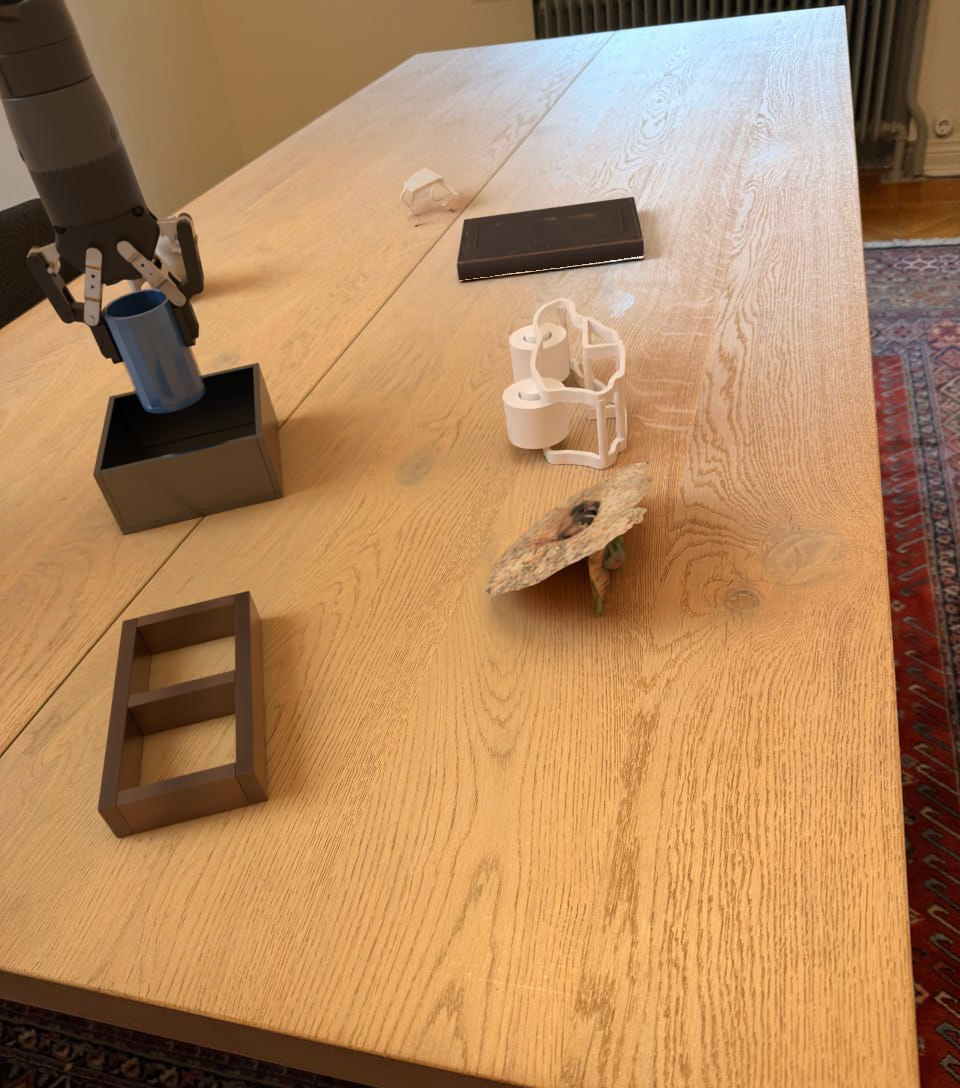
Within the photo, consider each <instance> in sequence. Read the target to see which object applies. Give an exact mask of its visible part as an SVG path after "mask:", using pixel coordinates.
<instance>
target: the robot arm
mask: <svg viewBox="0 0 960 1088" xmlns="http://www.w3.org/2000/svg"><path fill="white" fill-rule="evenodd" d="M78 31H79V30H78V27H77V26H76V23H75V20H74V18H73V16H72V13H71V11H70V9H69V7H68V5H67V2H66V0H0V102H1V104H2V108H3V111H4V113H5V117H6V120H7V123H8V126H9V127H8V128H9V130H10V132H11V134H12V137H13V140H14V142H15V144H16V149H17V151H18V154H19V156H20V158H21V160H22V162H23V163H24V164H25V167H26V168H27V169H26V170H27V171H28V173H29V176H30V178H31V180H32V182H33V185H34V187H35V190H36V192H37V193H38V196H39V198H40V200H41V203H42V205H43V207H44V209H45V212H46V214H47V216H48V219H49V221H50V223H51V225H52V228H53V229H54V230H53V231H54V235H55V241H54V242H53V243H50V244H46V245H44V246H40V245H33V246H32V247H31V248H30V250H29V252H28V253H27V256H26V259H25V264H26V267H27V268H28V270H29V271H30V273H31V274H32V276H33V278H34V279H35V281H36V282H37V284H38V285H39V287H40V288H41V290H42V292H43V293H44V295H45V296H46V298H47V300H48V301H49V303H50V304H51V307H52V308H53V309H54V311H55V312H56V314H57V316H58V317H59V319H60V320H61V322H63V323H64V324H68V325H69V324H71V325H72V324H73V323H82V324H85V325H87V327H88V328H89V330H90V332H91V334H92V336H93V338H94V340H95V343H96V345H97V347H98V349H99V351H100V353H101V355H102V356H103V357H104V358H105V359H106V360H108V359H111V361H112V364H113V365H117V364H120V363H123V362H122V360H121V358H120V356H119V353H118V351H117V349H116V346H115V344H114V342H113V339H112V337H111V335H110V332H109V330H108V328H107V326H106V323H105V321H104V319H103V316H102V310H103V294H104V293H103V292H104V285H105V287H109V286H114V285H116V284H118V283H120V282H122V281H127V280H137V279H141V278H143V276H144V277H145V278H146V279H147V280H148V281H149V282H150V283H151V284H152V285H153V286H154V287H155V288H157V289H159V290H160V291H161V292H162V293H163V294H164V295H165V296H166V297H167V298H168V299H169V300H170V301H171V302H172V303H173V304H174V305H173V311H174V314H175V317H176V319H177V322H178V324H179V327H180V330H181V332H182V335H183V337H184V340H185V343H186V345H187V347H190V346H191V347H194V346H196V345H197V343H196V342H197V339H198V338H199V337H200V324H199V321H198V318H197V315H196V313H195V309H194V307H193V304H192V302H191V299H192V298H193V297H194V296H197V295H201V294H202V293H203V292H204V290H205V289H204V288H205V274H204V269H203V265H202V259H201V255H200V250H199V245H198V244H197V240H196V235H195V234H196V231H195V226H194V220H193V217H192V216H191V215H190V214H189V213H188V212H181V213H180V214H178V216H177V218H170V219H167V218H159V219H158V217H157V216H156V215H155V214H154V213H153V212H152V211H151V210H150V209H149V207H148V205H147V203H146V201H145V198H144V195H143V193H142V189H141V187H140V185H139V182H138V179H137V177H136V174H135V171H134V169H133V165H132V163H131V160H130V157H129V155H128V152H127V150H126V147H125V144H124V142H123V139H122V135H121V134H120V131H119V128H118V125H117V123H116V120H115V117H114V114H113V112H112V109H111V107H110V105H109V102H108V100H107V99H106V96H105V94H104V92H103V90H102V88H101V86H100V84H99V83H98V81H97V80H98V79H97V78H96V75H95V73H93V72H94V71H93V68H92V65H91V62H90V60H89V57H88V54H87V52H86V50H85V49H86V48H85V47H84V44H83V41H82V38H81V36H80V33H79V32H78ZM160 234H163V235H166V236H167V237H168V238H169V240H170V242H171V244H172V245H173V246H175V247H180V248H181V253H182V257H183V262H184V267H185V271H186V276H187V277H186V278H185V279H183V280H182V281H181V280H180V279H179V278H178V277H177V276H176V275H175V274H174V273H173V272H172V271H171V270H170V268H169V266H168V265H167V264H166V263H165V262H164V260H163V259H162V258H161V257H160V256H159V255H158V254H157V253H156V252H155V250H156V247H157V243H158V240H159V236H160ZM60 257H61V258H63V259H64V260H65V261H66V262H68V263H69V264H70V265H72V266H73V267H75V268H76V269H78V270H79V271H80V272H82V273H83V274H84V291H83V293H84V294H83V299H84V301H83V302H82V301H77V300H76V299H75V297H74V296H73V294H72V292H71V291H70V289H69V287H68V286H67V284H66V282H65V281H64V279H63V277H62V276H61V274H60V273H59V272H60V269H61V266H62V265H61V262H60ZM152 260H154V261H152ZM150 272H151V273H150Z"/></svg>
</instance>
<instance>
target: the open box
mask: <svg viewBox="0 0 960 1088" xmlns="http://www.w3.org/2000/svg"><path fill="white" fill-rule="evenodd" d="M201 375H202V374H201ZM202 378H203V380H204V385H205V387H206V390H205V393H204V395H203V396H202V397H201V398H200V399H199V400H198V401H197V402H195V403H194V404H192V405H190V406H188V407H186V408H183V409H181V410H177V411H174V412H169V413H150V412H147V411H146V410H144V409H143V407H142V405H141V402H140V401H139V399H138V397H137V395H136V392H135V390H132V391H128V392H124V393H119V394H115V395H110V396H108V402H107V406H106V410H105V415H104V420H103V426H102V429H101V435H100V440H99V444H98V450H97V455H96V459H95V464H94V468H93V474H92V476H93V478H94V480H95V482H96V485H97V486H98V488H99V490H100V492H101V494H102V496H103V498H104V500H105V502H106V504H107V506H108V508H109V510H110V512H111V514H112V516H113V518H114V520H115V522H116V524H117V526H118V528H119V530H120V532H121V533H122V535H123V536H124V535H128V534H132V533H136V532H137V533H138V532H141V531H146V530H150V529H154V528H158V527H162V526H166V525H167V526H168V525H170V524H175V523H179V522H183V521H188V520H191V519H196V518H201V517H204V516H209V515H213V514H218V513H221V512H226V511H230V510H234V509H235V510H236V509H239V508H243V507H247V506H251V505H256V504H259V502H260V503H263V502H264V503H265V502H269V501H273V500H277V499H280V498H284V485H283V473H282V459H281V448H280V436H279V435H280V433H279V424H278V423H279V422H278V418H277V414H276V411H275V408H274V405H273V402H272V399H271V396H270V392H269V390H268V387H267V383H266V380H265V377H264V375H263V372H262V369H261V365H260V362H255V363H250V364H246V365H241V366H237V367H233V368H228V369H224V370H220V371H215V372H210V373H206V374H203V375H202Z"/></svg>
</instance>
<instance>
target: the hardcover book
mask: <svg viewBox="0 0 960 1088" xmlns="http://www.w3.org/2000/svg"><path fill="white" fill-rule="evenodd" d="M637 209H638V208H637V205H636V200H635V196H629V197H621V198H614V199H605V200H598V201H591V202H584V203H576V204H569V205H561V206H554V207H553V206H552V207H545V208H539V209H531V210H524V211H517V212H510V213H509V212H508V213H502V214H494V215H487V216H479V217H472V218H465V219H463V224H462V229H461V237H460V242H459V248H458V255H457V261H456V270H457V277H458V281H459V280H465V279H473V278H480V277H490V276H495V275H502V274H507V273H508V274H509V273H516V272H525V271H536V270H543V269H550V268H560V267H567V266H573V265H574V266H575V265H582V264H589V263H596V262H597V263H598V262H604V261H610V260H618V259H624V258H631V257H637V256H638V257H639V256H643V255H644V256H645V246H644V244H645V243H644V237H643V232H642V228H641V223H640V219H639V214H638V210H637Z"/></svg>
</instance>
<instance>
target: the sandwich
mask: <svg viewBox="0 0 960 1088" xmlns="http://www.w3.org/2000/svg"><path fill="white" fill-rule="evenodd" d="M649 464H650V462H649V461H648V460H647V461H646V460H645V461H638V462H635V463H631V464H629V465H626V466H623V467H622V468H620V469H619V470H617V471H616V472H614V473H612V474H610V475H608V476H606V477H605V478H603V479H601V480H600V481H598V482H596V483H594V484H592V485H590V486H589V487H586V488H584V489H582V490H580V491H578V492H576V493H574V494H572V495H571V496H569V498H567V499H566V500H564V501H563V502H561V503H560V504H558V505H557V506H555V507H554V508H552V509H551V510H550V511H548V512H546V513H545V514H544V515H543V516H542V517H541V518H539V519H538V520H537V521H536V522H534V524H532V525H531V527H529V528H528V530H526V531H524V533H523V534H521V535H520V536H519V537H517V539H515V540H514V541H513V542H512V543H511V544H510V545H509V546H508V547H507V548H506V549H505V550H503V552H502V553H501V554H500V555H499V557H498V558H497V559H496V561H495V563H494V564H493V567H492V571H491V574H490V579H489V582H488V584H487V585H486V588H485V593H488V595H490V596H491V597H495V596H497V595H502V594H504V593H508V592H513V591H520V590H523V589H525V588H528V587H531V586H534V585H537V584H540V583H541V582H543V581H544V580H546V579H548V578H549V577H551V576H552V575H554V574H555V573H557V572H559V571H561V570H562V569H564V568H567V567H568V566H570V565H572V564H574V563H577V562H579V561H580V560H583V559H584V560H585V562H586V563H587V566H588V573H589V580H590V581H589V582H590V587H591V591H592V599H593V602H594V611H593V615H594V617H599V616H600V615H601V613H602V612H603V610H604V608H605V606H606V597H607V592H608V589H609V586H610V585H609V584H610V572H609V571H608V570H616V569H619V568H621V567H622V566H623V564H624V563H625V561H626V549H625V546H624V536H623V535H624V534H625V533H627V531H628V530H631V529H632V528H633V526H634V524H641V523H642V522H643V521H644V515H645V513H646V512H648V511H649V510H647V509H646V508H645V507H641V506H637V505H638V504H639V503H640V502H641V501H642V499H643V498H644V497H645V496H646V494H648V493H649V492H650V490H651V488H653V487H654V483H655V478H654V477H653V476H652V475H649V474H647V473H646V471H647V469H648V467H649V466H650V465H649Z"/></svg>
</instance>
